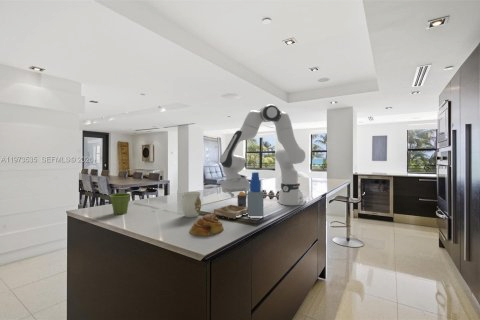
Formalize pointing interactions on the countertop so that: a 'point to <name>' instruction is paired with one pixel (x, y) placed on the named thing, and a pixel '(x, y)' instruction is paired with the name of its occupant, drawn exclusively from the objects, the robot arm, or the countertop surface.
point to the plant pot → (120, 202)
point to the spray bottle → (255, 196)
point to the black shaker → (241, 201)
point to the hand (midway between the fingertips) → (239, 196)
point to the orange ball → (241, 194)
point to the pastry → (207, 226)
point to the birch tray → (231, 210)
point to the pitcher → (191, 204)
